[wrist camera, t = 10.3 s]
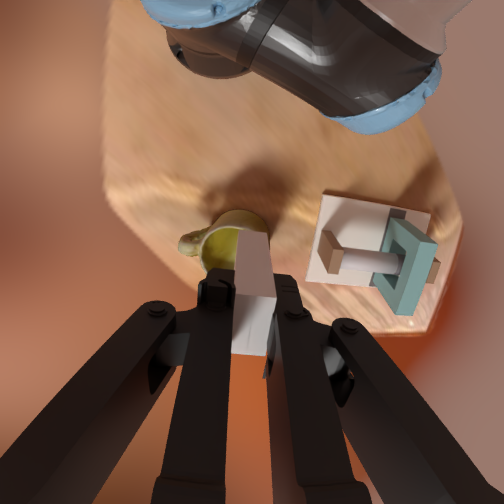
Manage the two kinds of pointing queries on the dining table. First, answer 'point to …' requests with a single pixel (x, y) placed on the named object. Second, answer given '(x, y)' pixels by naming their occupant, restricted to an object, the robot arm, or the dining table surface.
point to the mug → (221, 239)
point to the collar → (406, 266)
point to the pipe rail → (358, 242)
